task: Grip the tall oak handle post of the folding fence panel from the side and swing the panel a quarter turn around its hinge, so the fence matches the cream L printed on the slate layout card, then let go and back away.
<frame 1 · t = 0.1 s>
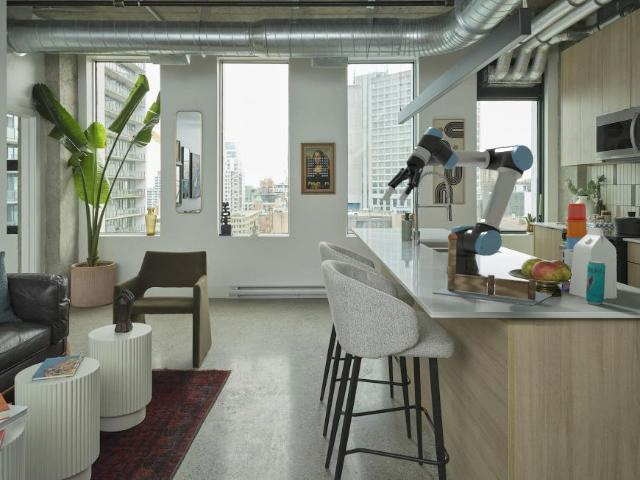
hand: (392, 200, 231), 36 cm above the table, tool tilted 35°, fingers open, 13 cm apart
fence fixed: (490, 296, 208), resting on layout card
folding fence panel: (466, 262, 213), point 12 cm above the table, hinge at 0.0°
layout card: (493, 293, 214), on the table
candy box: (579, 290, 223), on the table
beverage can: (594, 304, 195), on the table
stacking cups: (576, 283, 239), on the table
milk: (592, 296, 210), on the table
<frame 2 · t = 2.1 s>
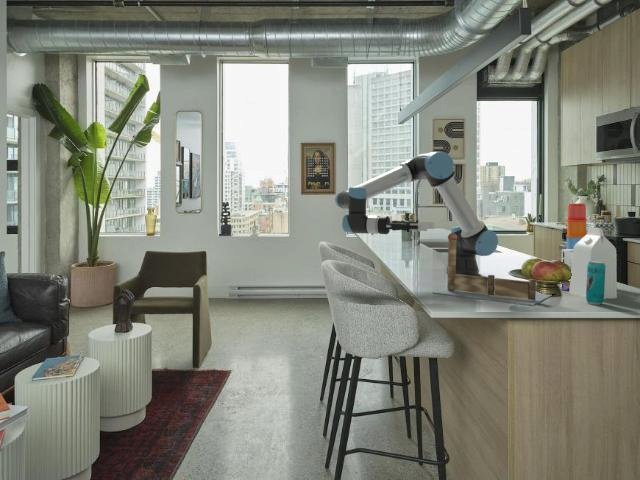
hand: (430, 226, 219), 26 cm above the table, tool horizontal, fingers open, 13 cm apart
nothing on the table moved.
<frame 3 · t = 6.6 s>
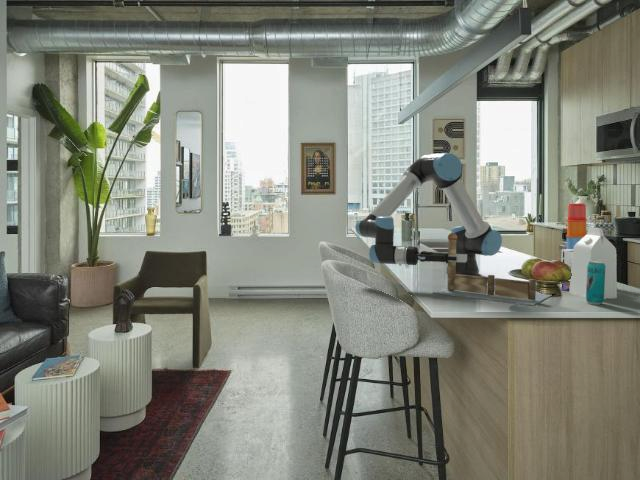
hand: (466, 258, 215), 13 cm above the table, tool horizontal, fingers closed on folding fence panel, 3 cm apart
folding fence panel: (466, 262, 213), point 12 cm above the table, hinge at 0.0°, touching gripper
everything else where it was.
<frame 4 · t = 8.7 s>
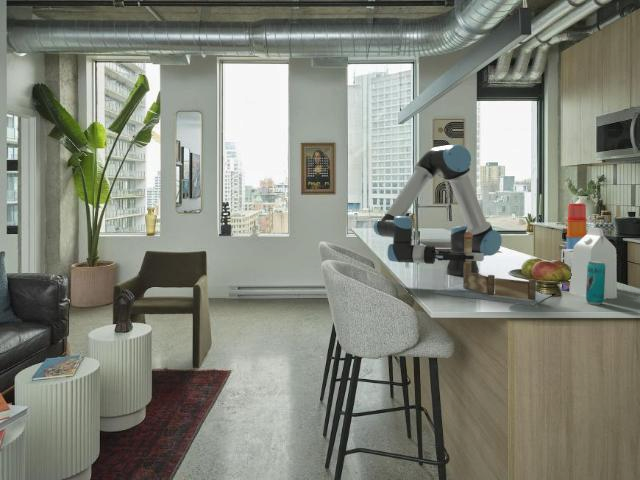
hand: (483, 257, 220), 13 cm above the table, tool horizontal, fingers closed on folding fence panel, 3 cm apart
folding fence panel: (476, 261, 217), point 12 cm above the table, hinge at 34.2°, touching gripper
everything else where it was.
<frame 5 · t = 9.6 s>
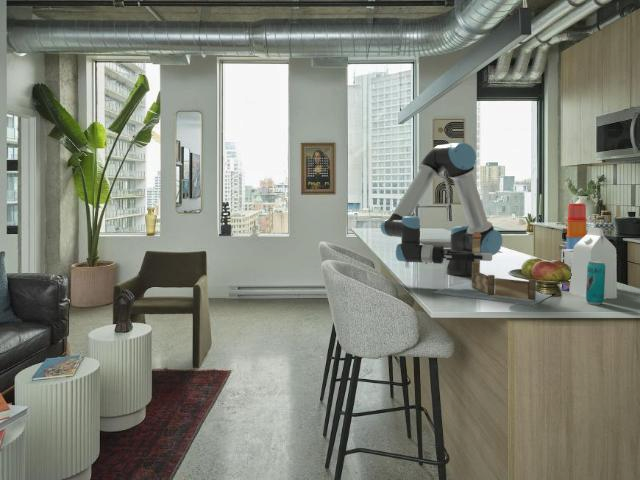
hand: (491, 257, 221), 13 cm above the table, tool horizontal, fingers closed on folding fence panel, 3 cm apart
folding fence panel: (481, 261, 217), point 12 cm above the table, hinge at 47.3°, touching gripper
everything else where it was.
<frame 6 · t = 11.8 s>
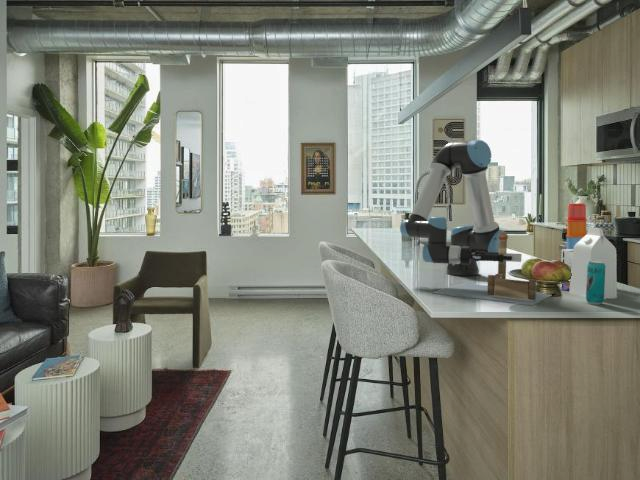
hand: (521, 257, 218), 13 cm above the table, tool horizontal, fingers closed on folding fence panel, 3 cm apart
folding fence panel: (498, 262, 216), point 12 cm above the table, hinge at 84.3°, touching gripper
everything else where it was.
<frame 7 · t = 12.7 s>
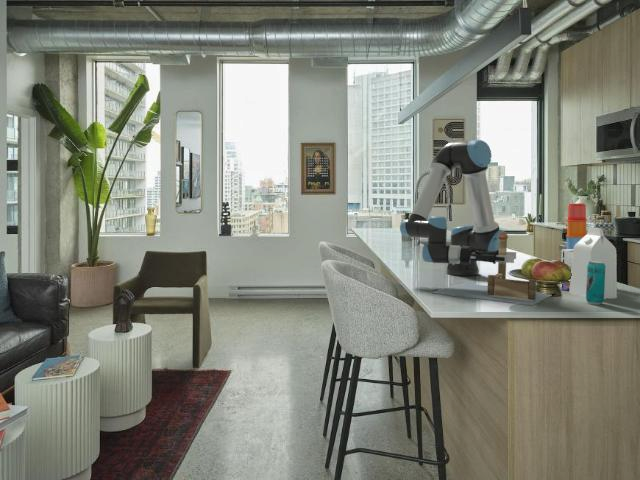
hand: (515, 257, 218), 13 cm above the table, tool horizontal, fingers open, 13 cm apart
folding fence panel: (498, 262, 216), point 12 cm above the table, hinge at 84.3°
everything else where it was.
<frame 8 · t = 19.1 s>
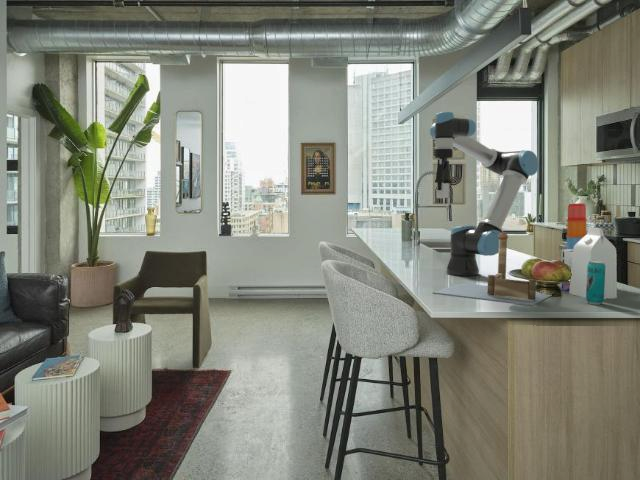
hand: (442, 198, 239), 37 cm above the table, tool pointing down, fingers open, 13 cm apart
nothing on the table moved.
at the end: folding fence panel at +84° (first picture: +0°); the gripper is holding nothing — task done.
